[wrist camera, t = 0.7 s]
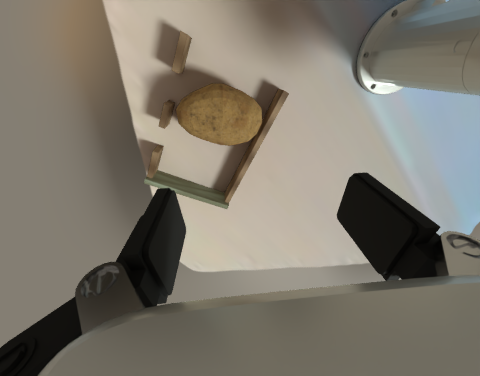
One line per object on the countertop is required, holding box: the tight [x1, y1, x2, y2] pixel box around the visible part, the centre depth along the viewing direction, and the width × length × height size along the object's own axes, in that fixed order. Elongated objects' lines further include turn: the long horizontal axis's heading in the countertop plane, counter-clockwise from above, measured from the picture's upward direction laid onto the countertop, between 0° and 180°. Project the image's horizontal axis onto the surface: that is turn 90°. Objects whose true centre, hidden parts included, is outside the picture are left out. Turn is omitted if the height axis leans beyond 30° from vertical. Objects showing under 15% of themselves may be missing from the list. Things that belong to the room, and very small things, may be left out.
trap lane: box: [144, 31, 289, 209], centre depth 35 cm, size 26×18×4 cm
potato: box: [176, 84, 262, 146], centre depth 31 cm, size 10×14×8 cm
